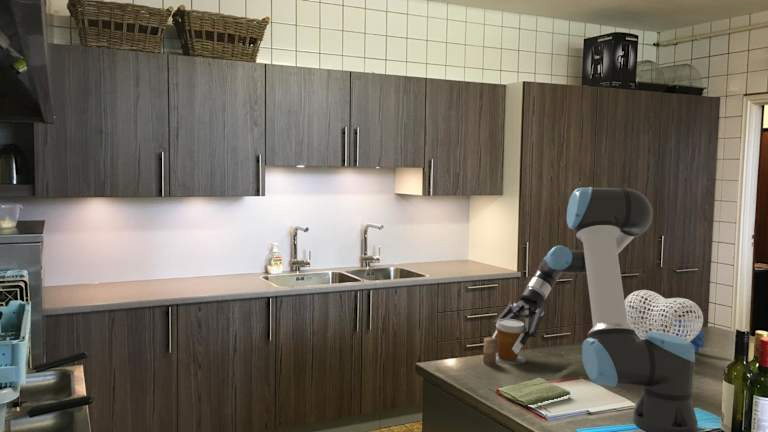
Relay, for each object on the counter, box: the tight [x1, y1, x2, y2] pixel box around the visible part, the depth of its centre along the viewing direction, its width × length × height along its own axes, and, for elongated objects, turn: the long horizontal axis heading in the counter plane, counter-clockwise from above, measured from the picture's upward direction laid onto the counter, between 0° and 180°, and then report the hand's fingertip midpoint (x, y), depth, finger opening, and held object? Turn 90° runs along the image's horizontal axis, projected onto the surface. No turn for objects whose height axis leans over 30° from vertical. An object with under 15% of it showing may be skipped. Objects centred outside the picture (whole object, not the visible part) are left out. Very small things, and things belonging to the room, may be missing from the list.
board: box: [481, 353, 527, 367], centre depth 215 cm, size 20×12×1 cm, turn 140°
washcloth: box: [497, 377, 571, 407], centre depth 186 cm, size 13×18×3 cm
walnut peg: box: [482, 336, 498, 366], centre depth 211 cm, size 4×4×8 cm
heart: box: [624, 289, 704, 342], centre depth 226 cm, size 28×16×22 cm, turn 29°
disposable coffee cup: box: [495, 319, 525, 361], centre depth 216 cm, size 10×10×12 cm
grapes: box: [672, 319, 706, 354], centre depth 234 cm, size 12×7×12 cm, turn 45°
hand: (503, 347), depth 214 cm, fingers closed on disposable coffee cup, 9 cm apart
